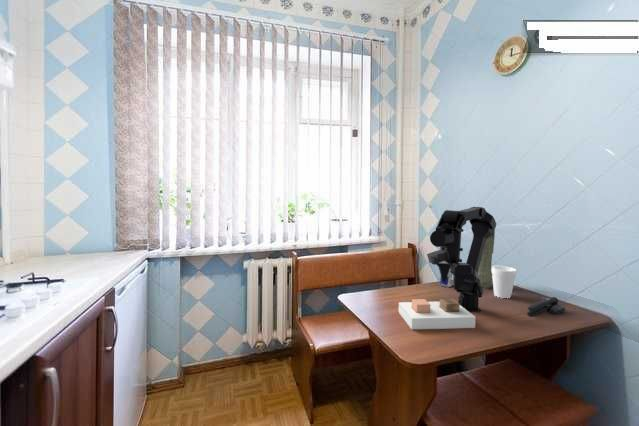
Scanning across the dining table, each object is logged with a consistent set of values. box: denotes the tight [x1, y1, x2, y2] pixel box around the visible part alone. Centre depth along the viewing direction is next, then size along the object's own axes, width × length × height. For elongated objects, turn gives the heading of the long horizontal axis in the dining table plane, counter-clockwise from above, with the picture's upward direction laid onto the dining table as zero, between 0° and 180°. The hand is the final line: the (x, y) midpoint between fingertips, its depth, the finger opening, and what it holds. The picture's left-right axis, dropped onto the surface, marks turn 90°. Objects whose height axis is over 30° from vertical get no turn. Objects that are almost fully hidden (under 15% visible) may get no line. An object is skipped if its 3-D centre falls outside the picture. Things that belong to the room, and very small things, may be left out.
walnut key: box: [439, 298, 460, 312], centre depth 108 cm, size 5×5×4 cm
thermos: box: [472, 228, 496, 289], centre depth 143 cm, size 9×12×35 cm
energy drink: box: [439, 269, 453, 288], centre depth 144 cm, size 5×5×12 cm
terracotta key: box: [411, 298, 430, 313], centre depth 107 cm, size 5×5×4 cm
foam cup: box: [491, 265, 518, 300], centre depth 130 cm, size 10×9×13 cm
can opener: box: [526, 296, 566, 317], centre depth 114 cm, size 18×7×6 cm, turn 109°
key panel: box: [398, 301, 477, 330], centre depth 108 cm, size 23×14×4 cm, turn 93°
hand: (449, 285), depth 107 cm, fingers open, 9 cm apart
